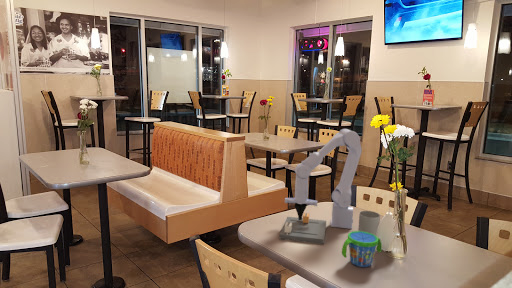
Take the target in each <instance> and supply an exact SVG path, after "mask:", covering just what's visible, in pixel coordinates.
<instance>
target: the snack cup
mask: <svg viewBox="0 0 512 288" xmlns="http://www.w3.org/2000/svg"><path fill="white" fill-rule="evenodd" d="M347 248H349V260H350V262H351V264H352V265H354V266H356V267H360V268H368V267H371V266H372V264H373V261H374V257H375V253H376V251H377V252H378V253H381V252H382V251H383V250H382V244H381V240H380V239H379V238H378V237H377V236H375V235H373V234H371V233H368V232H363V231H358V230H354V231H350V232H349V233H348V234H347V238H346V239H345V241H344V243H343V244H342V248H341V254H342V257H344V258H348V257H347Z"/></svg>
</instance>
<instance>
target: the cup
mask: <svg viewBox="0 0 512 288" xmlns="http://www.w3.org/2000/svg"><path fill="white" fill-rule="evenodd" d="M380 221H381V214H380V213H379V212H376V211H371V210H361V211H359V217H358V229H357V231H363V232H368V233H371V234H373V235H375V236H377V229H378V226H379V223H380Z"/></svg>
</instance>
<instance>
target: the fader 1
mask: <svg viewBox="0 0 512 288" xmlns="http://www.w3.org/2000/svg"><path fill="white" fill-rule="evenodd" d="M291 230H292V223H291V222H286V224H285V232H286V233H291Z"/></svg>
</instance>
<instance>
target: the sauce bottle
mask: <svg viewBox="0 0 512 288" xmlns="http://www.w3.org/2000/svg"><path fill="white" fill-rule="evenodd" d="M393 215H394V214H393V212H391V207H390V206H389V208H388V211H387V212H386V213H385V214H384V216H383V217H382V218H381V219H380V223H379V226H378V229H377V237H378V238H379V239H380V240H381V244H382V250H381V251H383V252H385V251H386V250H388V248H389V246H390V244H391V242H392V240H393V238H394V232H393V231H394V229H393V228H394V226H395V221H396V219H395V218H394V219H395V220H394V219H393V217H394V216H393Z"/></svg>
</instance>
